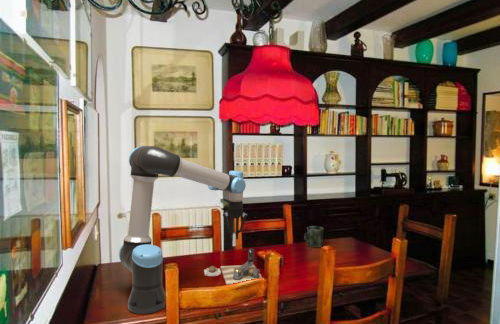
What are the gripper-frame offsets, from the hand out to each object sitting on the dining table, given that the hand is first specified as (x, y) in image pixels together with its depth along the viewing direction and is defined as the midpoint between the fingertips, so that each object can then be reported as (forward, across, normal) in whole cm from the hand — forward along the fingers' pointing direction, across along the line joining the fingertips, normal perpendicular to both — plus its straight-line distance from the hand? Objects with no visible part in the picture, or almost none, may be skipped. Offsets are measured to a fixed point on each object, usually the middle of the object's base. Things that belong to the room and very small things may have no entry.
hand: (234, 245), depth 181 cm
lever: (+11, -7, +8) cm, 15 cm away
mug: (+12, -46, -50) cm, 70 cm away
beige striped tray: (+13, -5, +7) cm, 16 cm away
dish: (+14, +10, +7) cm, 18 cm away
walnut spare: (+13, +10, +7) cm, 18 cm away
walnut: (+12, -10, +11) cm, 19 cm away
